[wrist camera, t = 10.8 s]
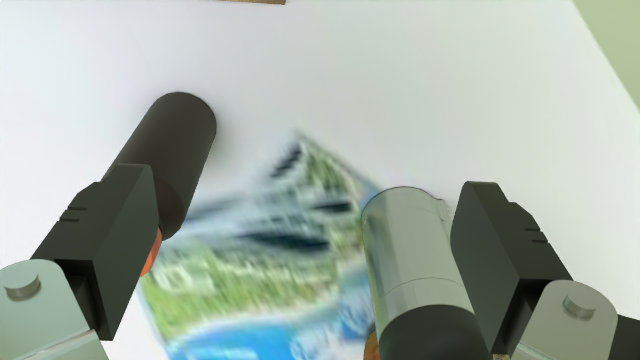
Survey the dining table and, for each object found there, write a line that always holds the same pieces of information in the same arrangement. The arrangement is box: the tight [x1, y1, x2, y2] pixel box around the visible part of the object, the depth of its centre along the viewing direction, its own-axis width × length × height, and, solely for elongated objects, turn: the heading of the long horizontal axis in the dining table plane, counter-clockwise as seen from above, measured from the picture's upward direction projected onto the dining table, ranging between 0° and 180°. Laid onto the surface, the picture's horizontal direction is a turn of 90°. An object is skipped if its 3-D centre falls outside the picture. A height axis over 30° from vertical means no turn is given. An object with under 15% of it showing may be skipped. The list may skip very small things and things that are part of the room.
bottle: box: [100, 92, 216, 277], centre depth 40 cm, size 7×7×20 cm
